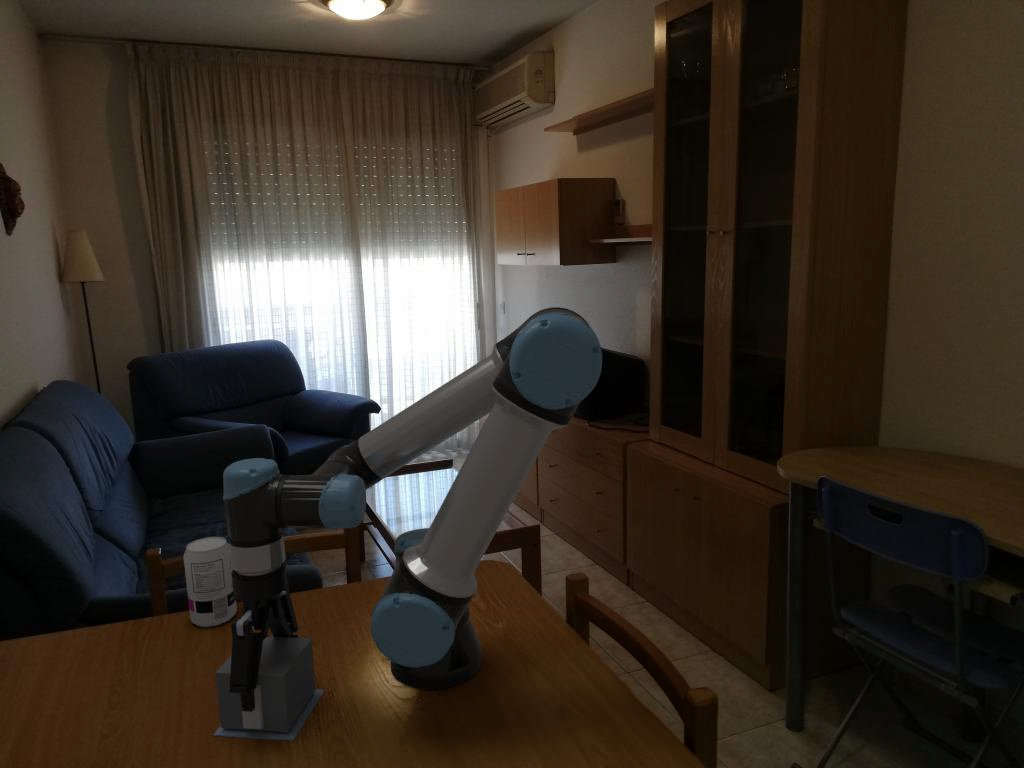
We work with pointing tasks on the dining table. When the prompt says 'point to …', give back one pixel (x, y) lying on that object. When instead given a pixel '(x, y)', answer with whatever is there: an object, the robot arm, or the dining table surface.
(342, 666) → the dining table surface
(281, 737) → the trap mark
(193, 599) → the supplement can
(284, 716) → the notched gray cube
